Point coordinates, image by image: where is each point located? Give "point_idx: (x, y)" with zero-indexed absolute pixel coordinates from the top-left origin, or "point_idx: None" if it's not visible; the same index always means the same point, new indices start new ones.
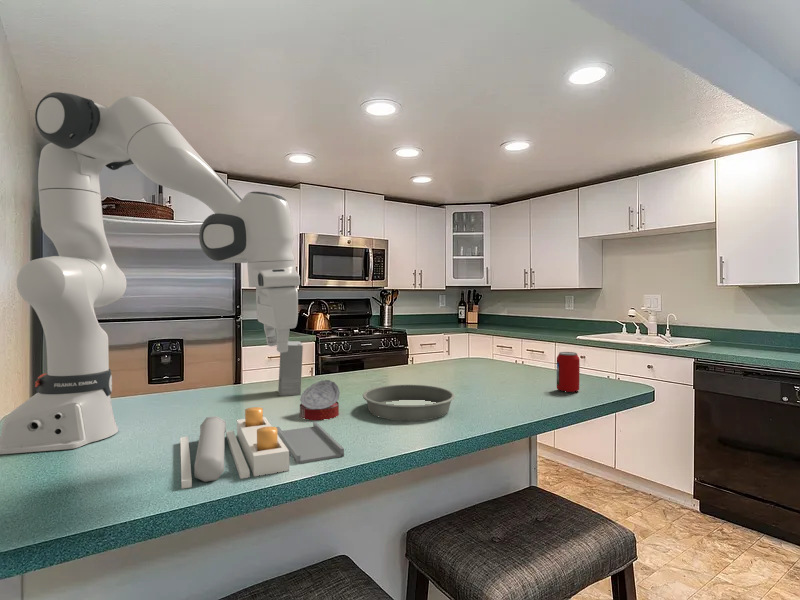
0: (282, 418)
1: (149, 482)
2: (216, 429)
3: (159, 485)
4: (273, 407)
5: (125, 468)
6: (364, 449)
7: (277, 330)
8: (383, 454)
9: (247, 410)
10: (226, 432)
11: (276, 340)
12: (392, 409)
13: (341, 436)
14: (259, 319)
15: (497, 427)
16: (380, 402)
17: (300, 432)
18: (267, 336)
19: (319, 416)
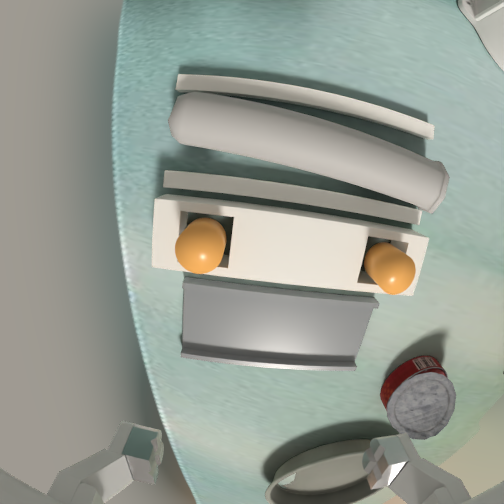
0: (441, 328)
1: (244, 37)
2: (361, 167)
3: (219, 49)
4: (492, 327)
5: (338, 20)
6: (199, 382)
7: (52, 489)
8: (165, 389)
9: (398, 258)
10: (416, 209)
11: (368, 475)
12: (305, 462)
13: (281, 382)
14: (492, 502)
15: (199, 491)
16: None
17: (339, 335)
18: (409, 466)
19: (390, 382)
